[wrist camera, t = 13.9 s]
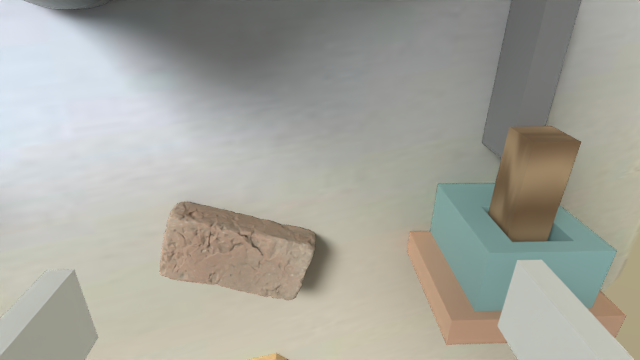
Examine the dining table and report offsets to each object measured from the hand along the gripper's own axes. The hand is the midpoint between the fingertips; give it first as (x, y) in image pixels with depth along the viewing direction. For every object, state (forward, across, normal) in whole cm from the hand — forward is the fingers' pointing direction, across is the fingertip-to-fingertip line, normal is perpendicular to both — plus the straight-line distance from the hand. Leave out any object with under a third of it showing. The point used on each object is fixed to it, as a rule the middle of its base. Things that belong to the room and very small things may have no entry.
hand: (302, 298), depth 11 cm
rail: (+29, +21, +2) cm, 36 cm away
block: (+29, +21, -14) cm, 38 cm away
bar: (+23, +21, -8) cm, 32 cm away
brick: (+29, -7, -18) cm, 35 cm away
